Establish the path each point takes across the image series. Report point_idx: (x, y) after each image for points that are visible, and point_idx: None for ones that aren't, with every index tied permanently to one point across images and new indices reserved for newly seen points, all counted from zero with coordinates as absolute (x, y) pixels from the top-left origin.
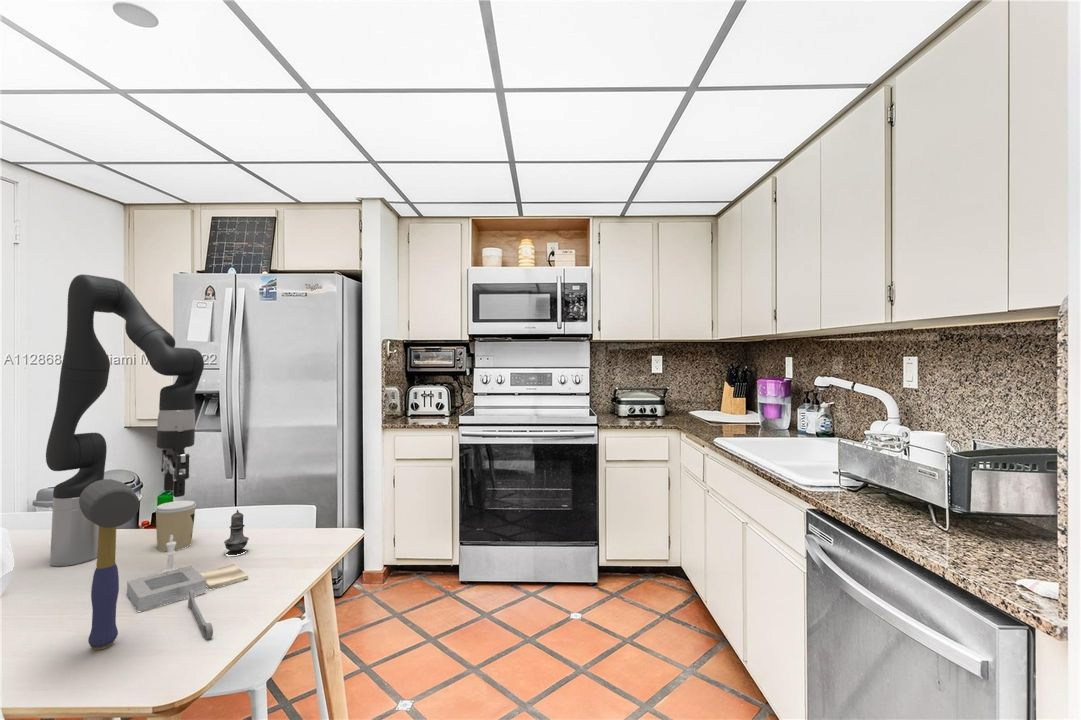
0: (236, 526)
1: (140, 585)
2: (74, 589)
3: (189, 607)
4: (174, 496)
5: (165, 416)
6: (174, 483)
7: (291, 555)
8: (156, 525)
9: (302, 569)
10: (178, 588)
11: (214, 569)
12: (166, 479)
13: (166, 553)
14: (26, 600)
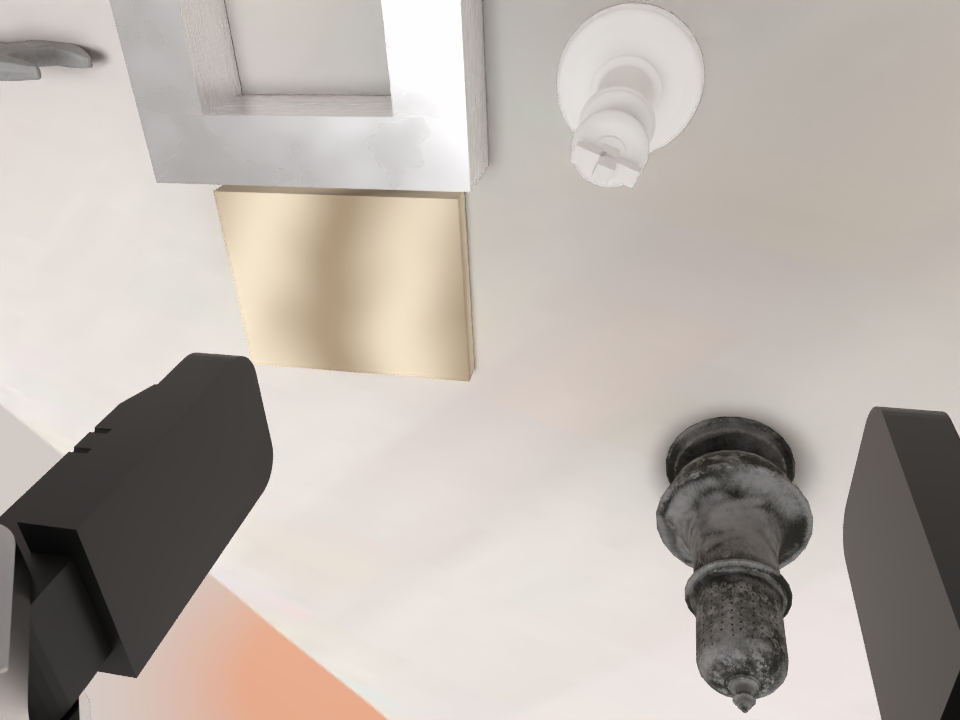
0: (701, 589)
1: None
2: None
3: (33, 41)
4: (202, 358)
5: None
6: (45, 503)
7: (455, 586)
8: None
9: (243, 530)
10: (123, 31)
11: (460, 288)
12: (933, 604)
13: (609, 93)
14: None
